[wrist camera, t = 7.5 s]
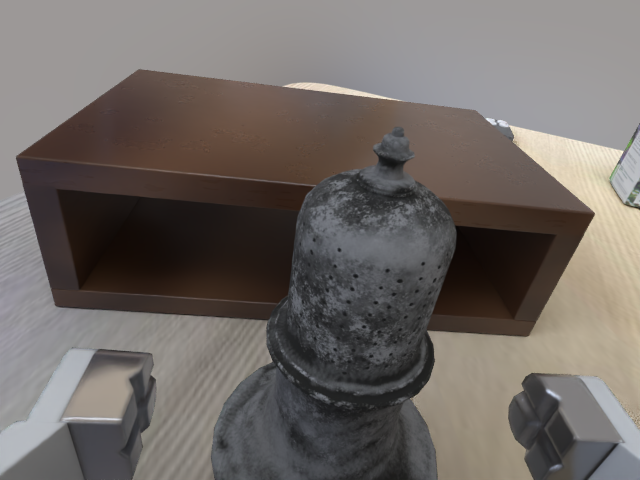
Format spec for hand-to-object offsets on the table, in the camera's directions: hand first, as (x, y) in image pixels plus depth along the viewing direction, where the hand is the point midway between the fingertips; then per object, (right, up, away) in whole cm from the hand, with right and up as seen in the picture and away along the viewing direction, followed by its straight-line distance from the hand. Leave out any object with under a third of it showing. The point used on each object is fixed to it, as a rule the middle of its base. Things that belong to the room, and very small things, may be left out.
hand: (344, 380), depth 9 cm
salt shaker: (-1, -5, +4) cm, 7 cm away
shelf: (-1, +3, +16) cm, 17 cm away
